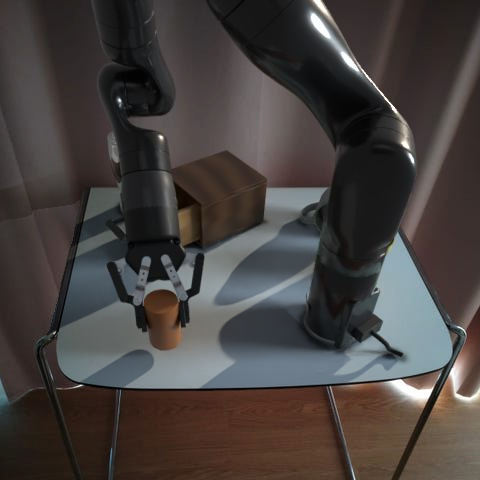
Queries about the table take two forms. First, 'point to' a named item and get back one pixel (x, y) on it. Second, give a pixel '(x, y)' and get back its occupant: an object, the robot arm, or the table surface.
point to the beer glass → (114, 161)
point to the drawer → (186, 215)
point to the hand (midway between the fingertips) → (164, 329)
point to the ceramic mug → (316, 211)
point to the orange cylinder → (163, 319)
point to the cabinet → (222, 195)
